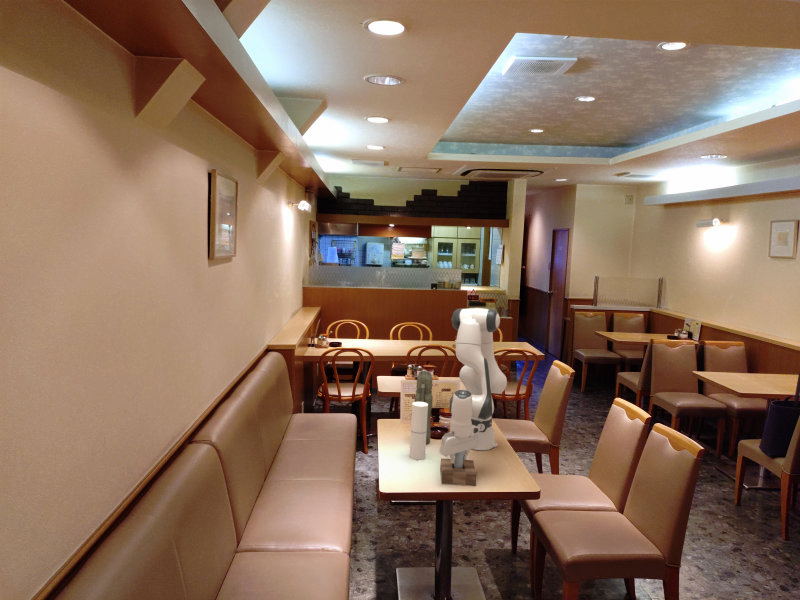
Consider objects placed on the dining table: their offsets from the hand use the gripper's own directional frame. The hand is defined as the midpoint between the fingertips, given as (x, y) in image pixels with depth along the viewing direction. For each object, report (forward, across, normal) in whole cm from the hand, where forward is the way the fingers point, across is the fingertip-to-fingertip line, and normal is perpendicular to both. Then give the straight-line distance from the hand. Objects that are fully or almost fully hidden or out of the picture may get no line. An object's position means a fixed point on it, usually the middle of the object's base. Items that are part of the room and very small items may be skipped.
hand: (458, 461), depth 229 cm
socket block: (+7, 0, 0) cm, 7 cm away
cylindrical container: (+7, -1, +26) cm, 27 cm away
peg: (+7, 0, 0) cm, 7 cm away
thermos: (+7, +13, +39) cm, 41 cm away
